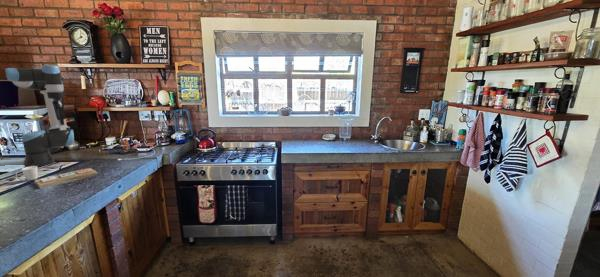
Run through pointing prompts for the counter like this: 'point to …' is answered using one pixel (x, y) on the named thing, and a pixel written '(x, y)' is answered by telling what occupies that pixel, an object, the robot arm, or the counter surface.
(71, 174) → the tile
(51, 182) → the board
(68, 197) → the counter surface
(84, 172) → the tile
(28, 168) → the cup
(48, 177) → the tile
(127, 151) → the figurine
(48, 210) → the counter surface
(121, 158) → the counter surface
